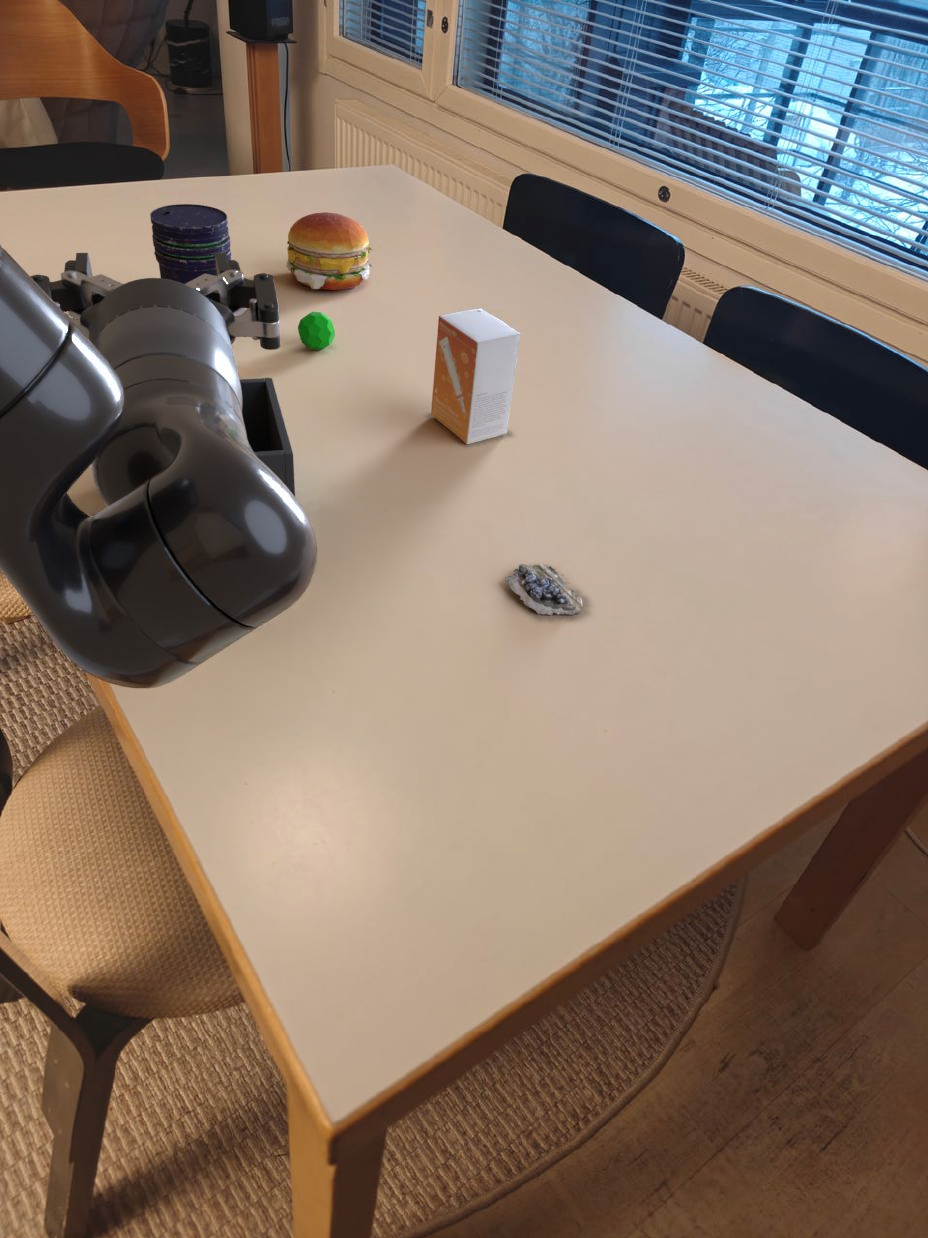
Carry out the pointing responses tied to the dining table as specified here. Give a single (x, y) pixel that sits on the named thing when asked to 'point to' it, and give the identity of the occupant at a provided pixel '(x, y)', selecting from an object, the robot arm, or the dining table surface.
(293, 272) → the burger
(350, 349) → the dining table surface
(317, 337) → the polyhedron
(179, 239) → the navy striped cylinder
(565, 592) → the grey flat lumpy piece
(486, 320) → the small box
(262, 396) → the waste bin
